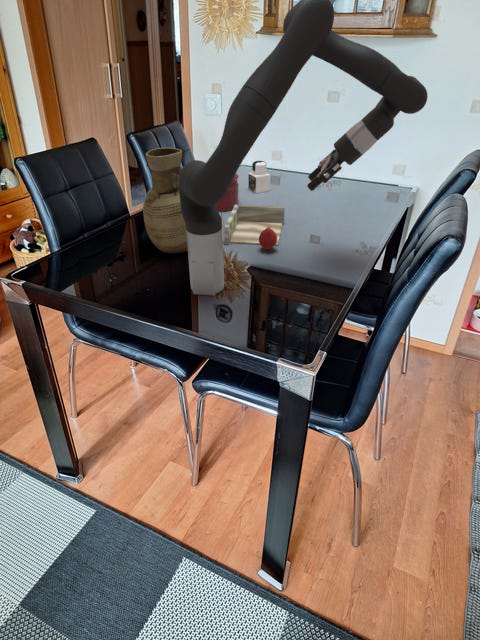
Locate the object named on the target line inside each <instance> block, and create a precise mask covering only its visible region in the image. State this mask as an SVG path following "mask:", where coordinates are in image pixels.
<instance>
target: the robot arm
mask: <svg viewBox="0 0 480 640" xmlns="http://www.w3.org/2000/svg"><path fill="white" fill-rule="evenodd" d="M334 20H335V10H334V7H333V4H332V2H331V0H299V1H298V2H297V3H296V4H295V5H293V6H292V7H291V8H290V9H289V10H288V11H287V13H286V14H285V17H284V19H283V25H282V30H283V35H282V37H281V39H280V40H279V42H278V43H277V45H276V46H275V47H274V49H273V50H272V51H271V53H270V54H268V55H267V56H266V58H265V59H264V60H263V61H262V62H261V63H260V65H258V67H257V68H256V69H255V70H254V71H253V72H252V73H251V75H250V76H249V77H248V78H247V80H246V82H244V84H242V86H241V88H240V90H239V92H238V93H237V95H236V97H234V99H233V101H232V103H231V105H230V107H229V109H228V112H227V115H226V119H225V123H224V127H223V132H222V135H221V138H220V141H219V143H218V145H217V146H216V147H215V150H214V151H213V152H212V154H211V156H209V159H208V160H207V161H206V162H205V161H203V160H200V159H199V160H197V159H195V160H191V161H190V160H189V161H188V162H187V163H185V164H184V165H183V166H182V167H181V171H180V174H179V181H178V186H179V196H180V204H181V211H182V216H183V219H184V221H185V225H186V235H187V248H188V251H187V257H188V258H187V259H188V270H189V280H190V282H189V283H190V289H191V291H192V294H193V295H203V296H211V297H212V296H214V297H215V296H216V295H217V294H218V293H220V292H222V291H223V290H224V288H225V272H224V244H223V243H224V242H223V240H224V239H223V219H222V216H221V214H220V211H218V210H217V208H216V205H215V204H216V203H217V202H219V201H220V200H221V198H222V197H223V196H224V194H225V192H226V191H227V189H228V187H229V185H230V183H231V181H232V180H233V178H234V176H235V174H237V172H238V170H239V168H240V167H241V164H242V163H243V161H244V160H245V158H246V157H247V155H248V153H249V152H250V151H251V149H252V147H253V146H254V144H255V142H256V141H257V140H258V138H259V136H260V135H261V134H262V132H263V131H264V130H265V128H266V127H267V125H268V124H269V123H270V121H271V119H272V118H273V116H274V115H275V113H276V112H277V111H278V108H279V107H280V105H281V103H282V102H283V100H284V99H285V98H286V95H287V94H288V93H289V91H290V90H291V87H292V86H293V84H294V83H295V80H296V78H297V77H298V75H299V74H300V72H301V71H302V69H303V68H304V67H305V65H306V64H307V62H308V61H309V60H310V59H311V57H315V58H318V59H319V60H322V61H324V62H326V63H328V64H330V65H331V66H334V67H335V68H337V69H339V70H341V71H343V72H344V73H345V74H348V75H349V76H351V77H352V78H354V79H356V81H359V82H360V83H361V84H363V85H364V86H365V87H366V88H369V89H370V90H371V91H373V92H375V93H377V94H379V95H380V96H382V97H381V98H380V100H379V101H378V103H377V104H376V105H375V107H374V108H373V109H371V110H370V111H369V112H367V114H366V115H365V116H363V117H362V118H361V119H360V120H359V121H358V122H356V123H355V124H353V126H351V127H350V128H349V129H348V130H347V131H346V132H345V133H344V134H343V135H341V137H339V138H338V139H337V140H336V141H335V142H334V143H333V148H334V149H333V150H332V151H331V152H329V154H328V155H326V156H325V157H324V158H323V159H322V160H320V161H319V163H318V164H317V166H316V168H315V169H314V170H312V172H311V173H309V174H308V176H307V177H308V179H309V180H310V181H309V182H308V183H307V188H308V189H309V190H310V191H312V192H313V191H314V190H316V189H317V188H318V187H319V186H320V185H321V184H323V183H324V184H326V183H328V182H329V180H330V179H332V178H333V177H334V176H335V175H336V174H337V173H338V172H339V171H341V170H342V169H343V167H342V166H341V165H342V164H343V163H344V162H345V163H346V164H347V165H348V166H351V165H353V164H354V163H355V162H357V161H358V160H359V159H360V158H361V157H362V156H363V155H365V154H366V152H368V151H369V150H370V149H372V147H373V146H374V145H375V144H376V143H377V142H378V141H379V140H380V139H381V138H383V137H384V136H385V135H387V133H388V132H390V131H391V129H393V127H394V125H395V118H396V117H397V116H398V114H400V112H402V113H404V114H408V115H413V114H416V113H418V112H420V111H421V110H422V109H423V108H424V107H425V106H426V104H427V101H428V91H427V88H426V87H425V86H424V84H422V82H421V81H420V80H419V79H417V77H415V76H412V75H408V74H406V73H404V72H403V71H402V70H401V69H400V68H399V67H398V66H397V65H396V64H395V63H394V62H392V61H391V60H390V59H388V58H387V57H385V56H384V55H383V54H381V53H380V52H379V51H377V50H375V49H373V48H371V47H369V46H367V45H364V44H361V43H358V42H355V41H353V40H350V39H348V38H345V37H344V36H342V35H340V34H338V32H335V31H334V30H332V29H333V25H334V22H335V21H334Z"/></svg>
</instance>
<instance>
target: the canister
mask: <svg viewBox="0 0 480 640" xmlns="http://www.w3.org/2000/svg"><path fill="white" fill-rule="evenodd" d="M238 178H239V174H238V173H236V174H235V176H234V178H233V180H232V181H231V183H230V185H229V187H228V189H227V191H226V192H225V194H224V196H223V197H222V198H221V200H220V201H219V202H217V203H216V204H215V205H216V208H217V210H218V212H229V211H232V210H233V208H234V206H235V205H240V204H239V203H240V202H239V201H240V199H239V182H238Z"/></svg>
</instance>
